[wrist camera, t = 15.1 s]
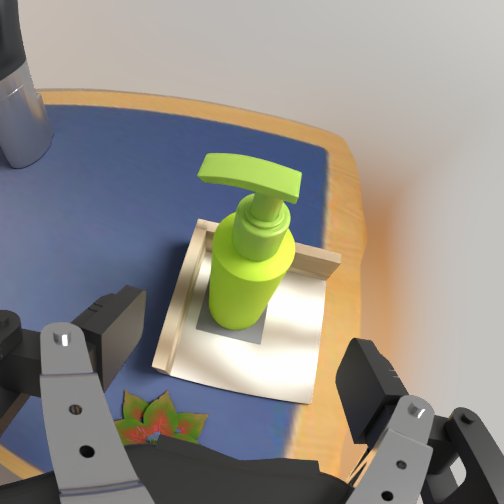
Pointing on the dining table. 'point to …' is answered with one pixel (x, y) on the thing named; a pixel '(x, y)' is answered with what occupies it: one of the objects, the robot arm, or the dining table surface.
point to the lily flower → (156, 421)
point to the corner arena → (253, 338)
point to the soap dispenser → (250, 237)
